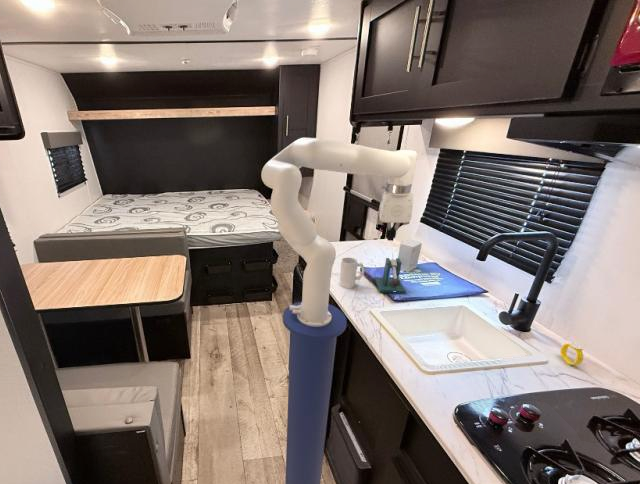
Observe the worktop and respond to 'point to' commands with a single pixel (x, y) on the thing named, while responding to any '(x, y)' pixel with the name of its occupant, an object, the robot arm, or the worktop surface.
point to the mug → (349, 272)
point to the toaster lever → (394, 273)
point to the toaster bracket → (389, 279)
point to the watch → (578, 351)
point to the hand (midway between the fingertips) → (389, 239)
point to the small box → (409, 254)
